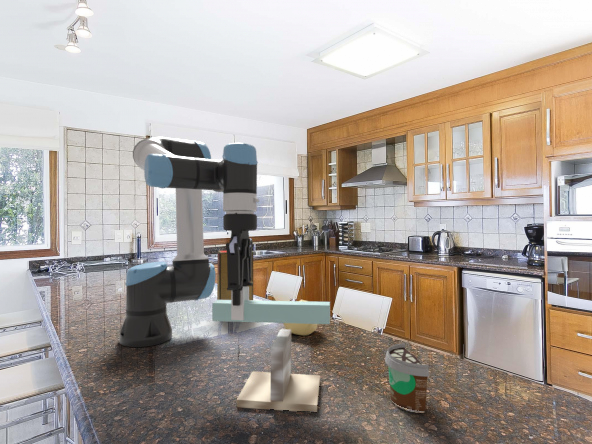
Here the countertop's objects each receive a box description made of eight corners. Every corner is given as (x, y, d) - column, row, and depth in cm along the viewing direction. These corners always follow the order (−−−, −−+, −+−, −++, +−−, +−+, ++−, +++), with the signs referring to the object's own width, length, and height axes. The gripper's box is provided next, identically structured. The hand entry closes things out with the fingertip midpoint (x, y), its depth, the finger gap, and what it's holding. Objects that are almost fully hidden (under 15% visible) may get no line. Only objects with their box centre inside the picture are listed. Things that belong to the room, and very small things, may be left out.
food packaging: (249, 310, 144) (249, 249, 143) (254, 316, 135) (254, 251, 134) (216, 312, 139) (216, 250, 139) (218, 319, 130) (219, 252, 130)
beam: (212, 321, 78) (212, 303, 78) (217, 317, 81) (217, 299, 81) (329, 324, 74) (329, 305, 74) (330, 319, 78) (329, 301, 78)
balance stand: (236, 407, 70) (237, 347, 69) (252, 377, 82) (252, 327, 82) (316, 412, 68) (317, 351, 68) (320, 381, 81) (320, 330, 81)
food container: (376, 387, 78) (377, 343, 78) (403, 387, 79) (403, 342, 78) (397, 419, 66) (397, 366, 66) (428, 418, 66) (429, 365, 66)
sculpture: (316, 339, 109) (316, 305, 109) (279, 336, 111) (279, 303, 111) (321, 328, 120) (321, 297, 120) (287, 326, 123) (287, 295, 123)
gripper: (246, 211, 70) (247, 328, 70) (264, 214, 87) (264, 308, 86) (210, 211, 71) (211, 327, 71) (235, 214, 87) (235, 308, 87)
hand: (240, 316), depth 79 cm, fingers closed on beam, 3 cm apart
